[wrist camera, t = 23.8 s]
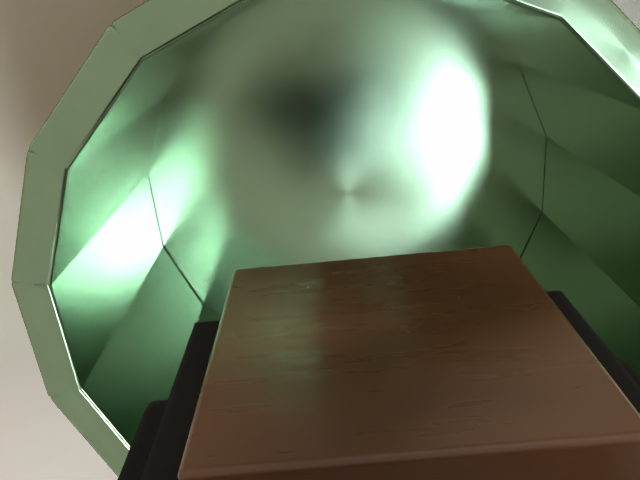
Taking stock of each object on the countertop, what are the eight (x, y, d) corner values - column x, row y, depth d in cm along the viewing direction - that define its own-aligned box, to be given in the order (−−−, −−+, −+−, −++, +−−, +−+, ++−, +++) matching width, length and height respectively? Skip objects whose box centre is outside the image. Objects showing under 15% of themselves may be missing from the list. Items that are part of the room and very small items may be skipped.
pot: (585, -184, 17) (831, -336, 9) (547, 407, 24) (659, 608, 16) (60, -127, 17) (-158, -224, 9) (188, 437, 25) (129, 648, 17)
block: (511, 242, 10) (661, 435, 6) (504, 460, 12) (614, 732, 7) (232, 267, 10) (172, 475, 6) (267, 479, 12) (243, 757, 8)
